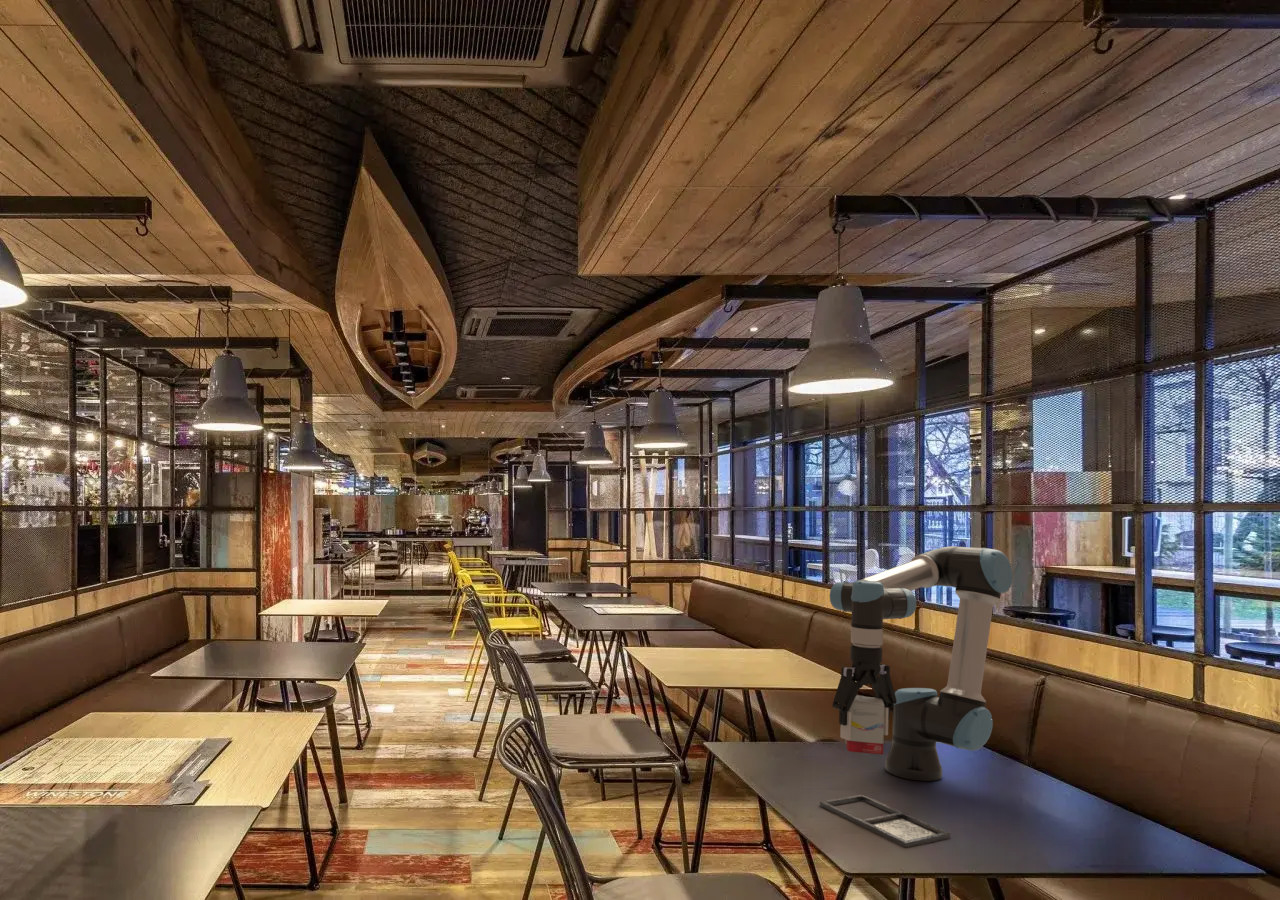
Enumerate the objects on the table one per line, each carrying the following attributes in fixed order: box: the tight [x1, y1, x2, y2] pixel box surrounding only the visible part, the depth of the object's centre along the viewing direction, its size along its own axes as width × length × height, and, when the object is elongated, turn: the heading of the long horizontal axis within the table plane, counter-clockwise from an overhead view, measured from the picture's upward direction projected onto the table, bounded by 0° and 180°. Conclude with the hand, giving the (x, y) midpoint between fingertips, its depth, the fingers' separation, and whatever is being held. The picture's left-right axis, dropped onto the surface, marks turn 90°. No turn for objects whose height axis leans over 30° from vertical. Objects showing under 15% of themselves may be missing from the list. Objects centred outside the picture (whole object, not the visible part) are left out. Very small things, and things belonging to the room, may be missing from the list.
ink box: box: [844, 694, 885, 755], centre depth 198 cm, size 9×9×12 cm
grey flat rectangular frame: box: [819, 794, 951, 849], centre depth 191 cm, size 14×27×1 cm, turn 30°
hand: (864, 736), depth 198 cm, fingers closed on ink box, 11 cm apart
